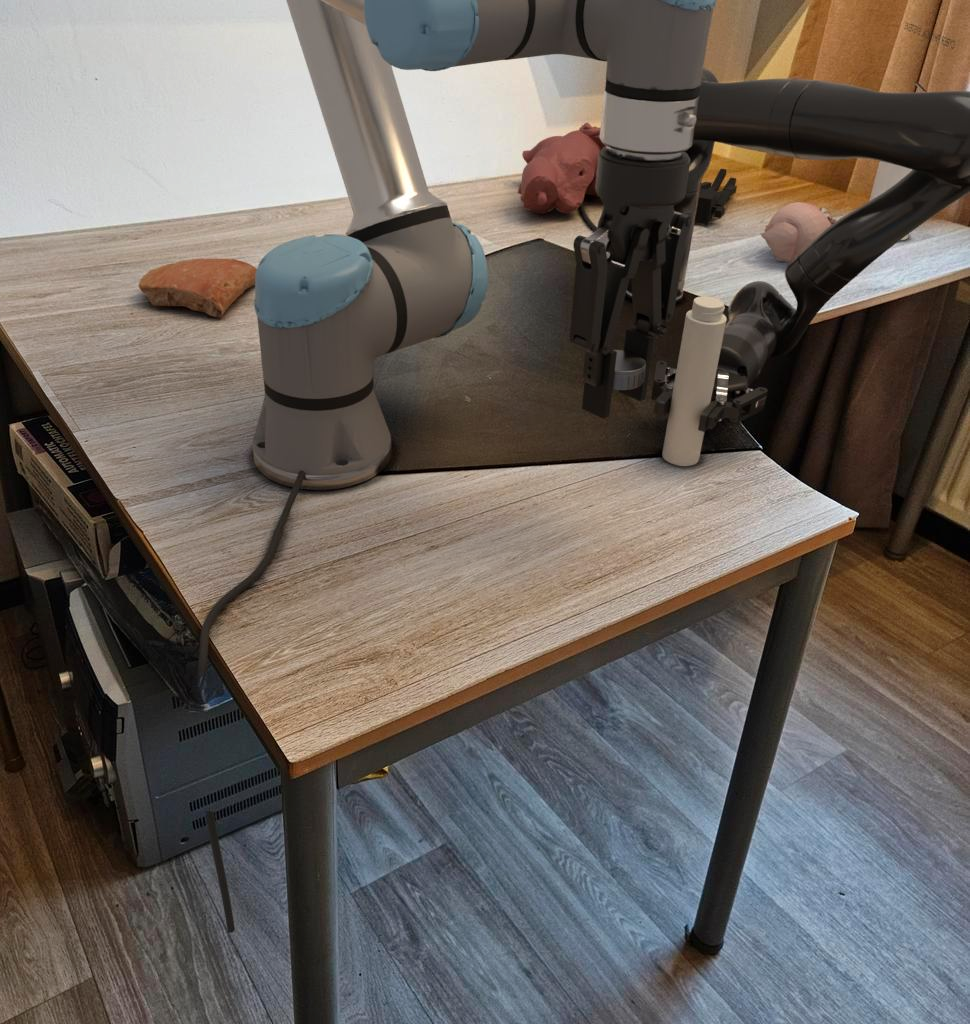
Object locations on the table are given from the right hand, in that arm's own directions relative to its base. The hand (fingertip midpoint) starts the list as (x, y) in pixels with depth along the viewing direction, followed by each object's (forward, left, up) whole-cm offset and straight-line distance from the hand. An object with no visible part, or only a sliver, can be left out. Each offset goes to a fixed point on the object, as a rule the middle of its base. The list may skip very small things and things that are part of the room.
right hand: (681, 417), depth 106 cm
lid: (+13, -9, +12) cm, 19 cm away
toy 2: (-76, +27, -6) cm, 81 cm away
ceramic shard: (-39, -68, -6) cm, 78 cm away
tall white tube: (-94, +47, -6) cm, 105 cm away
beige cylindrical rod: (-2, +1, -6) cm, 7 cm away
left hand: (+13, -9, +7) cm, 17 cm away
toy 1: (-105, +16, -6) cm, 107 cm away
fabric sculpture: (-99, -12, -6) cm, 100 cm away
